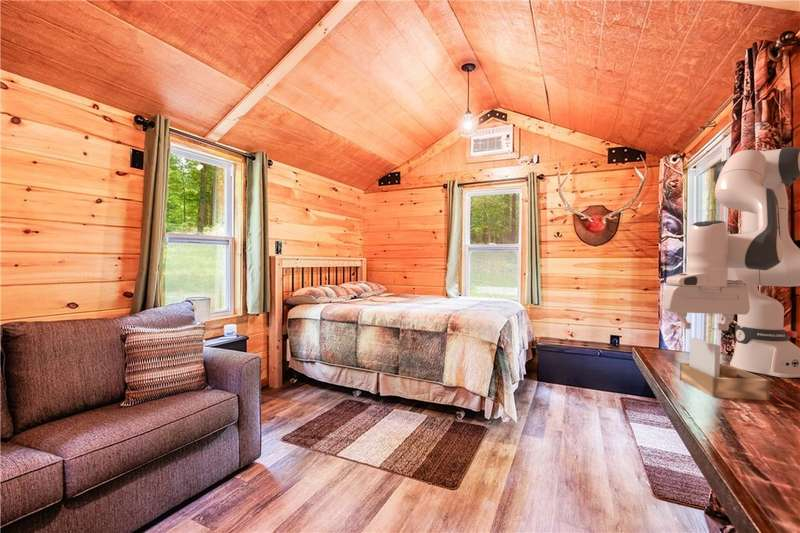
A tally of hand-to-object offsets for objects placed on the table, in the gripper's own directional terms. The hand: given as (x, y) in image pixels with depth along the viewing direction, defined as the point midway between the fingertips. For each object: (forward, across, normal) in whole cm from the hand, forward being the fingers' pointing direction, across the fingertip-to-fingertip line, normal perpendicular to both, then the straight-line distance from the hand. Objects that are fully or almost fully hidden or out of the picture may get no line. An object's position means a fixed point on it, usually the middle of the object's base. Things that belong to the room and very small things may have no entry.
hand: (704, 329), depth 102 cm
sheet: (+16, 0, 0) cm, 16 cm away
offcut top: (+12, -4, 0) cm, 13 cm away
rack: (+17, -6, 0) cm, 18 cm away
